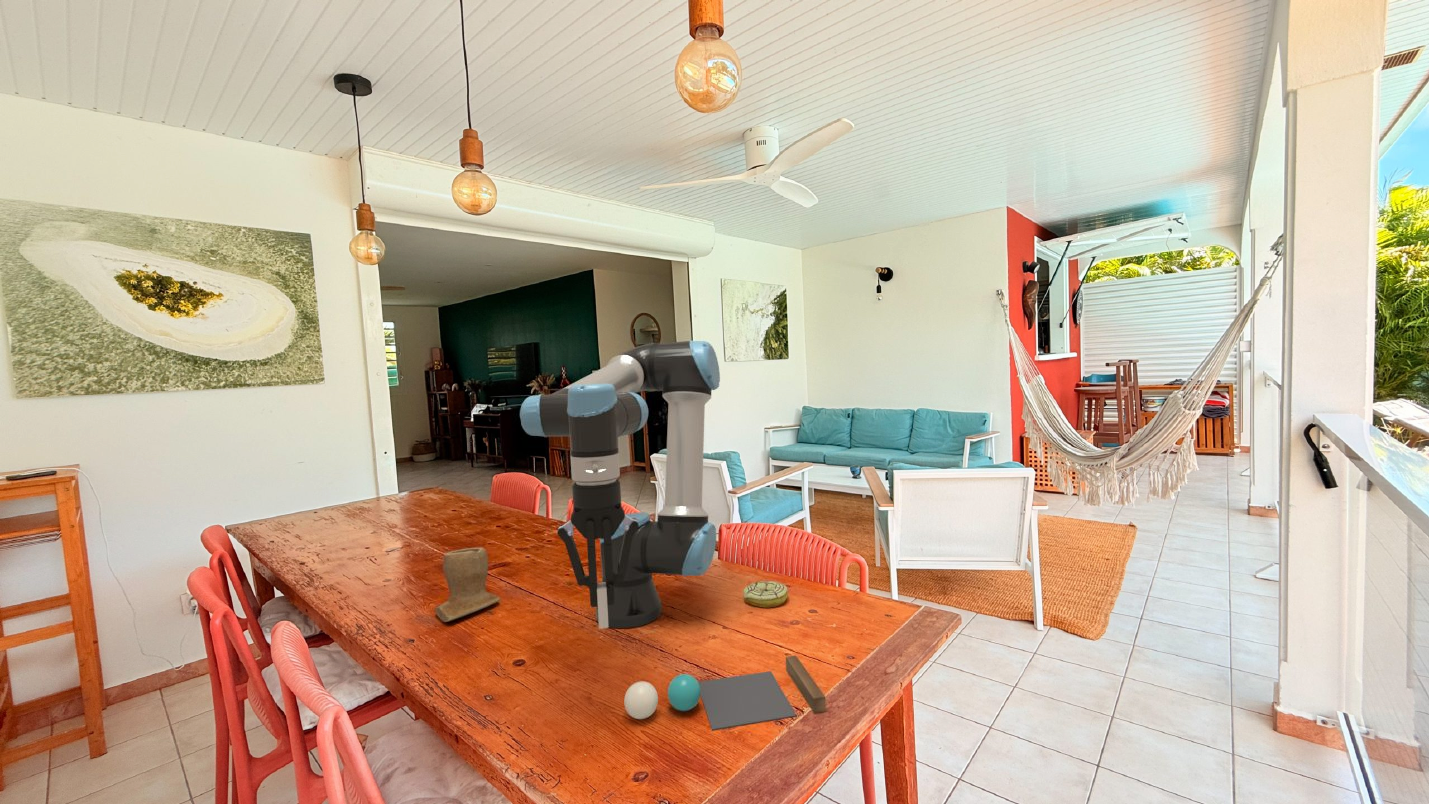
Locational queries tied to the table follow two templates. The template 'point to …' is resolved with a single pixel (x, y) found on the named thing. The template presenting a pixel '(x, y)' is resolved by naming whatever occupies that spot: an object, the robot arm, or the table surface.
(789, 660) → the rail
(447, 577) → the tan flanged block
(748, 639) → the table surface
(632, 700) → the cue ball
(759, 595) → the decorated donut
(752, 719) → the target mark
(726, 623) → the table surface
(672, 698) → the teal ball
